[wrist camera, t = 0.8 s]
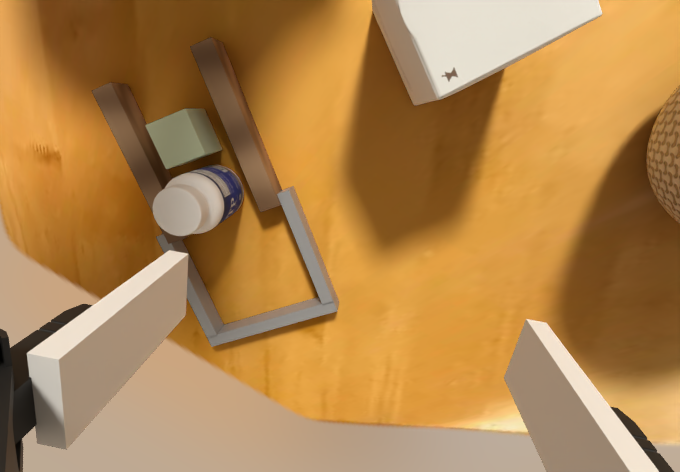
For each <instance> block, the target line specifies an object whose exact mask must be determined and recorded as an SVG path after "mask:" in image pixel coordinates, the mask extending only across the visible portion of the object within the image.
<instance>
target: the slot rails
mask: <svg viewBox="0 0 680 472" xmlns="http://www.w3.org/2000/svg"><path fill="white" fill-rule="evenodd" d="M190 48H191V50H192V53H193V55H194V58H195V60H196V62H197V65H198V67H199V69H200V72H201V74H202V76H203V79H204V81H205V83H206V86H207V88H208V90H209V93H210V95H211V97H212V100H213V102H214V104H215V107H216V109H217V112H218V114H219V116H220V119H221V121H222V123H223V126H224V128H225V130H226V133H227V135H228V137H229V140H230V142H231V144H232V147H233V149H234V151H235V154H236V156H237V159H238V161H239V163H240V166H241V168H242V170H243V173H244V175H245V177H246V180H247V182H248V184H249V187H250V189H251V191H252V194H253V196H254V198H255V201H256V203H257V205H258V208H259V210H260V212H263V211H266V210H268V209H271V208H274V207H277V206H280V205H281V203H280V200H279V198H278V195H277V194H278V193H279V192H280V191H282V189H281V186H280V184H279V181H278V179H277V176H276V174H275V171H274V169H273V166H272V164H271V162H270V159H269V157H268V154H267V152H266V149H265V147H264V144H263V142H262V139H261V137H260V134H259V132H258V129H257V127H256V124H255V122H254V120H253V117H252V115H251V112H250V110H249V107H248V105H247V102H246V100H245V97H244V95H243V92H242V90H241V87H240V85H239V82H238V80H237V77H236V75H235V73H234V70H233V68H232V65H231V63H230V60H229V58H228V55H227V53H226V50H225V48H224V45H223V43H222V42H221V41H218V40H216V39H214V38H212V37H210V38H208V39H206V40H204V41H201V42H199V43H197V44H195V45H192V46H190ZM92 93H93V95H94V97H95V99H96V101H97V103H98V105H99V107H100V109H101V111H102V113H103V115H104V117H105V119H106V121H107V123H108V125H109V127H110V129H111V131H112V133H113V135H114V137H115V139H116V141H117V143H118V145H119V147H120V149H121V151H122V153H123V154H124V156H125V158H126V160H127V162H128V164H129V166H130V168H131V170H132V172H133V174H134V176H135V178H136V180H137V182H138V184H139V186H140V188H141V190H142V192H143V194H144V196H145V198H146V200H147V202H148V204H149V206H150V208H151V210H152V212H153V202H154V199H155V197H156V196H157V194H158V193H159V192H160V191H162V190H163V189H165V187H166V185H167V184H168V183H169V182H170V181H171V180H172V179H173V178H172V176H171V174H170V172H169V170H168V169H166V168H165V166H164V164H163V162H162V160H161V158H160V156H159V153H158V151H157V149H156V147H155V145H154V143H153V141H152V139H151V137H150V135H149V133H148V130H147V128H146V126H145V125H147V124H146V122H145V120H144V118H143V115H142V113H141V111H140V109H139V107H138V105H137V103H136V101H135V99H134V96H133V94H132V92H131V90H130V88H129V86H128V84H121V83H112V82H110V83H108V84H106V85H103V86H101V87H99V88H97V89H95V90H92ZM160 228H161V227H160ZM161 230H162V232H163V234H164V236H165V238H166V240H167V242H168V244H170V243H173V242H176V241H179V240H182V239H185V238H187V237H188V236H190V235H191V234H189V235H186V236H175V235H172V234H169V233H168V232H166V231H164V230H163V229H162V228H161Z"/></svg>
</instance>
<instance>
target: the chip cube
mask: <svg viewBox="0 0 680 472" xmlns="http://www.w3.org/2000/svg"><path fill="white" fill-rule="evenodd" d="M145 126H146V128H147V130H148V133H149V135H150V137H151V139H152V141H153V143H154V145H155V147H156V149H157V151H158V153H159V156H160V158H161V160H162V162H163V164H164V166H165V168H166V169H170V168H173V167H177V166H180V165H184V164H187V163H190V162H192V161H195V160H198V159H200V158H203V157H205V156H208V155H211V154H213V153H216V152H218V151H221V150H222V147H221V145H220V143H219V140H218V138H217V136H216V133H215V131H214V129H213V127H212V124H211V122H210V120H209V117H208V115H207V113H206V110H205V109H188V108H185V109H183V110H180V111H178V112H176V113H173V114H171V115H168V116H166V117H164V118H161V119H159V120H156V121H154V122H152V123H149V124H147V125H145Z"/></svg>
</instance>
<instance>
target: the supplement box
mask: <svg viewBox="0 0 680 472" xmlns="http://www.w3.org/2000/svg"><path fill="white" fill-rule="evenodd" d="M372 9H373V13H374V16H375V18H376V20H377V23H378V25H379V27H380V30H381V32H382V34H383V36H384V39H385V41H386V43H387V46H388V48H389V50H390V53H391V55H392V57H393V59H394V62H395V64H396V66H397V69H398V71H399V73H400V76H401V78H402V80H403V82H404V85H405V87H406V89H407V92H408V94H409V96H410V98H411V101H412V103H413V105H415V106H416V105H420V104H424V103H427V102H431V101H436V100H441V99H443V98H446V97H448V96H450V95H452V94H454V93H457V92H459V91H461V90H463V89H465V88H467V87H469V86H471V85H473V84H475V83H477V82H479V81H481V80H483V79H485V78H487V77H489V76H491V75H493V74H494V73H496V72H498V71H500V70H502V69H504V68H506V67H508V66H510V65H512V64H514V63H516V62H517V61H519V60H521V59H523V58H525V57H527V56H529V55H531V54H532V53H534V52H536V51H538V50H540V49H541V48H543V47H545V46H547V45H549V44H551V43H552V42H554V41H556V40H558V39H560V38H561V37H563V36H565V35H567V34H569V33H571V32H572V31H574V30H576V29H578V28H580V27H581V26H583V25H585V24H587V23H589V22H591V21H593V20H594V19H596V18H598V17H600V16H601V15H602V11H601V8H600V4H599V1H598V0H372Z"/></svg>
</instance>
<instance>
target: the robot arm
mask: <svg viewBox="0 0 680 472" xmlns="http://www.w3.org/2000/svg"><path fill="white" fill-rule="evenodd" d="M187 276H188V254H187V253H181V252H176V251H171V250H169V251H167V252H166V253H165V254H163V255H162V256H160V257H159V258H158V259H156V260H155V261H154V262H152V263H151V264H149V265H148V266H147V267H145V268H144V269H142V270H141V271H140V272H138V273H137V274H136V275H134V276H133V277H131V278H130V279H129V280H127V281H126V282H124V283H123V284H122V285H120V286H119V287H118V288H116V289H115V290H113V291H112V292H111V293H109V294H108V295H106V296H105V297H104V298H102V299H101V300H100V301H98V302H97V303H96V304H94V305H88V304H82V305H79V306H77V307H74V308H71V309H69V310H66V311H64V312H63V313H61V314H60V315H58V316H57V317H56V318H54V319H52V320H51V322H48V323H47V324H46V325H44V326H42V327H41V328H40V329H39V330H36V331H35V332H33V333H32V334H30V335H29V336H27V337H26V338H24V339H23V340H22V341H20V342H18V343H17V344H16V345H14V346H13V347H11V348H10V345H9V338H8V335H7V333H6V331H4V330H2V329H0V472H23V443H22V438H23V437H24V436H25V435H26V434H27V433H28V432H29V431H30V430H31V429H32V428H33V427H34V426H35V428H36V437H37V443H38V444H42V445H47V446H52V447H56V448H61V449H67V448H68V447H69V446H70V445H71V444H72V443H73V442H74V441H75V439H76V438H77V437H78V436H79V435H80V434H81V433H82V432H83V430H84V429H85V428H86V427H87V426H88V425H89V424H90V423H91V421H92V420H93V419H94V418H95V417H96V416H97V415H98V414H99V412H100V411H101V410H102V409H103V408H104V407H105V406H106V404H107V403H108V402H109V401H110V400H111V399H112V398H113V397H114V395H115V394H116V393H117V392H118V391H119V390H120V389H121V388H122V386H123V385H124V384H125V383H126V382H127V381H128V380H129V378H131V376H132V375H133V374H134V373H135V372H136V371H137V370H138V368H139V367H140V366H141V365H142V364H143V363H144V362H145V361H146V360H147V358H148V357H149V356H150V355H151V354H152V353H153V352H154V350H155V349H156V348H157V347H158V346H159V345H160V344H161V343H162V342H163V340H164V339H165V338H166V337H167V336H168V335H169V334H170V333H171V331H172V330H173V329H174V328H175V327H176V326H177V325H178V323H179V322H180V321H181V320H182V319H183V318H184V317H185V316H186V299H187ZM504 379H505V381H506V384H507V386H508V388H509V390H510V392H511V395H512V397H513V399H514V401H515V403H516V406H517V408H518V410H519V412H520V414H521V417H522V419H523V421H524V423H525V425H526V427H527V430H528V432H529V434H530V436H531V438H532V441H533V443H534V445H535V447H536V449H537V452H538V453H539V456H540V458H541V460H542V463H543V465H544V467H545V469H546V471H547V472H674V471H673V470H672V469H671V467H670V466H669V465H668V463H667V462H666V461H665V460H664V458H663V457H662V456H661V455H660V454H659V453H657V450H656V449H655V447H654V446H653V445H652V443H651V442H650V441H648V440H647V437H646V436H645V435H644V433H643V432H642V431H641V430H640V428H639V427H638V426H637V425H636V423H635V422H634V421H632V420H631V419H630V418H629V417H628V416H626V415H625V414H624V413H623V412H622V411H620V410H619V409H618V408H614V407H610V406H609V405H608V403H607V402H606V401H605V399H604V398H603V397H602V396H601V394H600V393H599V392H598V390H597V389H596V388H595V386H594V385H593V384H592V382H591V381H590V380H589V378H588V377H587V376H586V374H585V373H584V372H583V370H582V369H581V368H580V367H579V365H578V364H577V363H576V361H575V360H574V359H573V357H572V356H571V355H570V353H569V352H568V351H567V349H566V348H565V347H564V345H563V344H562V343H561V341H560V340H559V339H558V338H557V336H556V335H555V334H554V332H553V331H552V330H551V328H550V327H549V326H548V324H547V323H545V322H539V321H534V320H529V319H526V321H525V323H524V326H523V329H522V331H521V334H520V337H519V339H518V342H517V345H516V347H515V350H514V353H513V355H512V358H511V361H510V363H509V366H508V368H507V371H506V374H505V376H504Z"/></svg>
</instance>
